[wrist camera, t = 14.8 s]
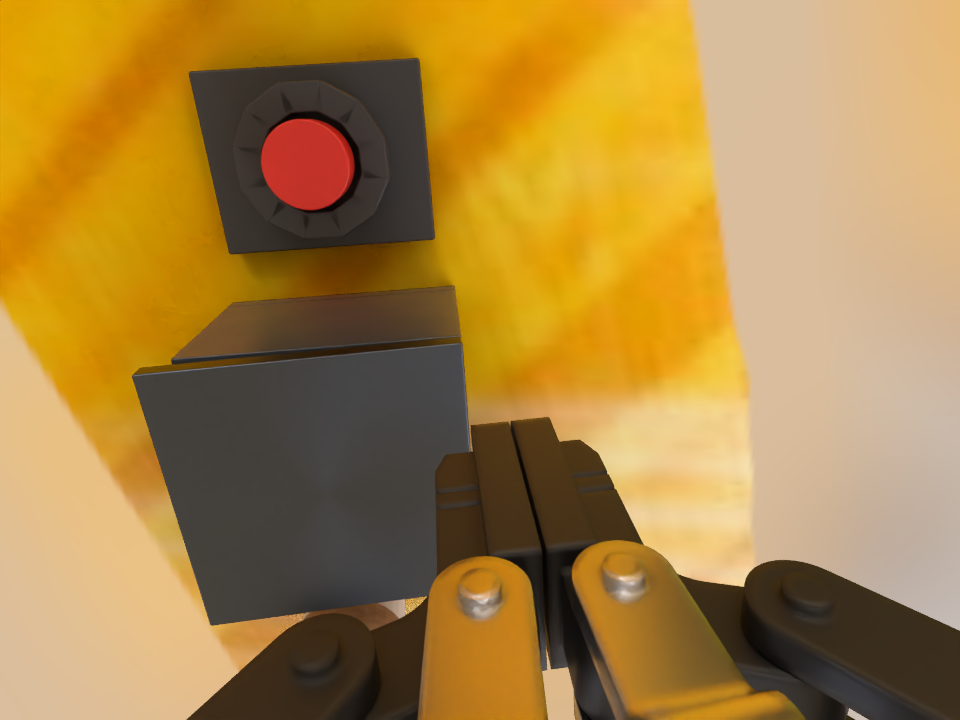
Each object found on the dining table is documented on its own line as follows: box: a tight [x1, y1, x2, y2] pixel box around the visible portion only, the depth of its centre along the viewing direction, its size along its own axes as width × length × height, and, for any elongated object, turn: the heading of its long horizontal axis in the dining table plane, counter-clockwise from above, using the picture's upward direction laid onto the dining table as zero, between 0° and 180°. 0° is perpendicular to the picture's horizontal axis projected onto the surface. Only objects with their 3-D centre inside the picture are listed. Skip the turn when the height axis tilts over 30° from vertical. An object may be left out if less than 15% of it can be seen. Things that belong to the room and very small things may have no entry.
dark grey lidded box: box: [171, 286, 461, 365], centre depth 29 cm, size 12×13×8 cm
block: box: [189, 58, 435, 254], centre depth 27 cm, size 8×10×3 cm
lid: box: [132, 337, 471, 625], centre depth 25 cm, size 12×13×1 cm
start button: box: [261, 119, 355, 210], centre depth 25 cm, size 4×4×2 cm
